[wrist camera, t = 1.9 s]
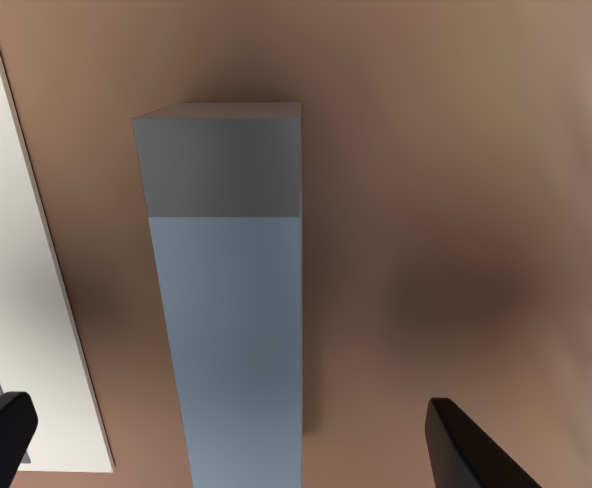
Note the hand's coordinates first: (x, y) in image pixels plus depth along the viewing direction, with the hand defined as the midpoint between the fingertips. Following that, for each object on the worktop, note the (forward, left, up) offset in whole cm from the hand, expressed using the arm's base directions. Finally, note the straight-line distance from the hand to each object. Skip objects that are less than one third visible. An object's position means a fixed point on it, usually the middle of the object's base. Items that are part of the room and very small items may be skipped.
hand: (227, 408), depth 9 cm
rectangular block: (0, 0, -4) cm, 4 cm away
